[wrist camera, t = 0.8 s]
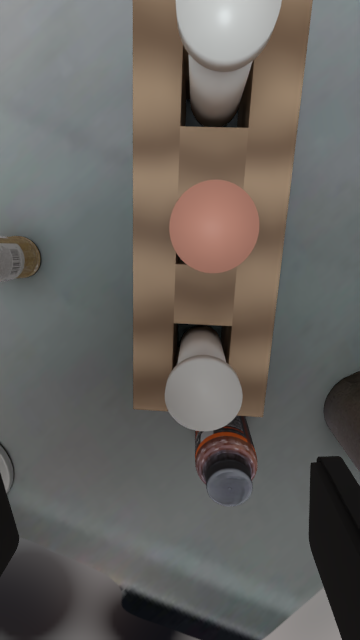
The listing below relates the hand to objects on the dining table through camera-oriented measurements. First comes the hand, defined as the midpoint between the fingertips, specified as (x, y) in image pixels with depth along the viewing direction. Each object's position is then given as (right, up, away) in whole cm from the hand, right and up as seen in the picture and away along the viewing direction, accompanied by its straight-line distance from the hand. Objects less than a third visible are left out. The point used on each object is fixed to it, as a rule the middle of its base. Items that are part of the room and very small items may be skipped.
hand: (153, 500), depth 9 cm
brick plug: (+3, +13, +17) cm, 21 cm away
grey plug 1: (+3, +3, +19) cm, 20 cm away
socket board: (+3, +14, +23) cm, 27 cm away
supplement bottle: (+6, -6, +28) cm, 29 cm away
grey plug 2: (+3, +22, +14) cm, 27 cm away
